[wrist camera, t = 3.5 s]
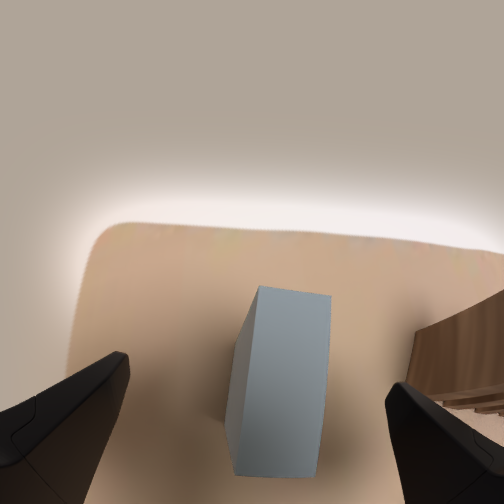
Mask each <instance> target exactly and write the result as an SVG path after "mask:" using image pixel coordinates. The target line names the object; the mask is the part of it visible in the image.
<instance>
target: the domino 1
mask: <svg viewBox="0 0 504 504" xmlns="http://www.w3.org/2000/svg"><path fill="white" fill-rule="evenodd" d="M330 323H331V296H329V295H321V294H314V293H306V292H299V291H292V290H285V289H278V288H272V287H265V286H259V288H258V290H257V292H256V295H255V297H254V300H253V302H252V305H251V307H250V309H249V312H248V314H247V317H246V319H245V321H244V324H243V326H242V329H241V331H240V333H239V336H238V338H237V341H236V343H235V349H234V357H233V364H232V371H231V378H230V385H229V393H228V400H227V407H226V415H225V422H224V426H225V431H226V436H227V441H228V446H229V451H230V456H231V460H232V465H233V470H234V474H235V475H238V476H250V477H270V478H306V477H315V474H316V468H317V462H318V455H319V448H320V441H321V434H322V426H323V417H324V408H325V398H326V387H327V375H328V361H329V345H330Z"/></svg>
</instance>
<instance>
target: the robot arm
mask: <svg viewBox="0 0 504 504" xmlns="http://www.w3.org/2000/svg"><path fill="white" fill-rule="evenodd" d="M129 379H130V366H129V357H128V355H127V354H126V353H122V352H119V351H115V352H113V353H111V354H109V355H107V356H106V357H104V358H102V359H100V360H99V361H97V362H95V363H93V364H91V365H90V366H88V367H86V368H84V369H82V370H81V371H79V372H77V373H75V374H73V375H72V376H70V377H68V378H66V379H64V380H63V381H61V382H59V383H57V384H55V385H54V386H52V387H50V388H48V389H46V390H44V391H42V392H41V393H39V394H37V395H36V396H33V397H31V398H29V399H28V400H26V401H24V402H22V403H20V404H18V405H16V406H13V407H11V408H9V409H6V410H4V411H2V412H0V504H83V503H84V501H85V498H86V495H87V492H88V490H89V487H90V485H91V482H92V479H93V477H94V474H95V472H96V469H97V466H98V464H99V461H100V459H101V456H102V454H103V452H104V449H105V447H106V444H107V442H108V440H109V437H110V435H111V432H112V430H113V428H114V425H115V423H116V421H117V418H118V415H119V412H120V409H121V405H122V402H123V399H124V395H125V392H126V389H127V386H128V382H129ZM385 408H386V414H387V420H388V427H389V433H390V439H391V443H392V447H393V451H394V455H395V459H396V463H397V468H398V472H399V476H400V481H401V485H402V490H403V495H404V500H405V504H504V447H502V446H501V445H499V444H497V443H495V442H493V441H492V440H490V439H488V438H487V437H485V436H483V435H482V434H480V433H479V432H477V431H476V430H474V429H472V428H471V427H470V426H469V425H467V424H466V423H464V422H463V421H461V420H460V419H458V418H457V417H455V416H454V415H452V414H451V413H450V412H448V411H447V410H445V409H444V408H442V407H441V406H439V405H438V404H437V403H435V402H434V401H432V400H431V399H429V398H428V397H427V396H425V395H424V394H422V393H421V392H419V391H418V390H417V389H415V388H414V387H412V386H411V385H409V384H408V383H406V382H397V383H395V384H394V385H393V387H392V388H391V390H390V392H389V393H388V395H387V397H386V399H385Z"/></svg>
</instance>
